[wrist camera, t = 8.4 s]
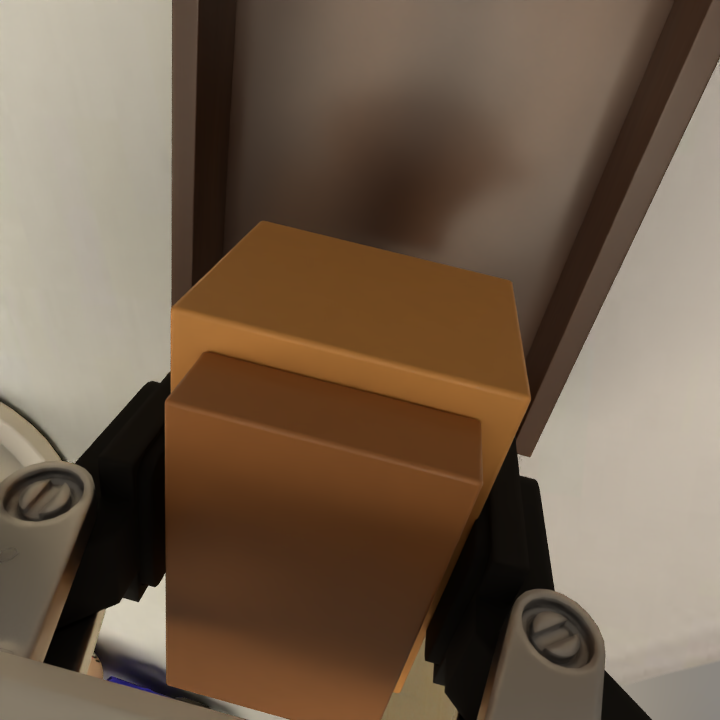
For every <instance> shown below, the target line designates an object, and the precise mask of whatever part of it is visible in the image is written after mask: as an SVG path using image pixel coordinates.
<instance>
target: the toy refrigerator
mask: <svg viewBox="0 0 720 720" xmlns="http://www.w3.org/2000/svg"><path fill="white" fill-rule="evenodd" d="M425 639H426V636H425V638H424V641H423V643H422V645H421V647H420V650H419V652H418V654H417V656H416V659H415V661H414V663H413V665H412V668H411V670H410V672H409V674H408V676H407V679H406V681H405V683H404V685H403V688H402V690H401V692H400V693H394V692H393V693H392V696H391V698H390V700H389V703H388V705H387V707H386V710H385V712H384V714H383V716H382V719H381V720H452V717H453V714H454V710H455V706H454V705H453V704H452V702H451V701H450V699H449V698H448V697H447V695H446V694H445V693H444V689H445V686H442V685H439V684H435V683H433V670H434V663H431V662H427V661H425V656H424V654H425Z"/></svg>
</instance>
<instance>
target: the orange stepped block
mask: <svg viewBox="0 0 720 720" xmlns="http://www.w3.org/2000/svg"><path fill="white" fill-rule="evenodd" d="M530 401H531V395H530V389H529V383H528V376H527V370H526V364H525V358H524V352H523V346H522V340H521V334H520V328H519V322H518V316H517V310H516V303H515V297H514V291H513V285H512V282H511V281H509V280H506V279H502V278H497V277H493V276H489V275H485V274H481V273H477V272H473V271H469V270H465V269H460V268H456V267H452V266H448V265H444V264H440V263H436V262H432V261H428V260H423V259H419V258H415V257H411V256H407V255H403V254H399V253H395V252H391V251H386V250H382V249H378V248H374V247H370V246H366V245H362V244H358V243H354V242H349V241H345V240H341V239H337V238H333V237H329V236H325V235H321V234H317V233H312V232H308V231H304V230H300V229H296V228H292V227H288V226H284V225H280V224H275V223H271V222H267V221H260V222H259V223H258V224H257V225H256V226H255V227H254V228H253V229H252V230H251V231H250V232H249V233H248V234H247V235H246V236H245V237H244V238H243V239H242V240H241V241H240V242H239V243H238V244H237V245H236V246H235V247H233V248H232V249H231V250H230V251H229V252H228V253H227V254H226V255H225V256H224V257H223V258H222V259H221V260H220V261H219V262H218V263H217V264H216V265H215V266H214V267H213V268H212V269H211V270H210V271H209V272H208V273H207V274H205V275H204V276H203V277H202V278H201V279H200V280H199V281H198V282H197V283H196V284H195V285H194V286H193V287H192V288H191V289H190V290H189V291H188V292H187V293H186V294H185V295H184V296H183V297H182V298H181V299H180V300H179V301H177V302H176V303H175V304H174V305H173V307H172V309H171V394H170V395H169V396H168V397H167V399H166V401H165V546H166V684H167V685H169V686H172V687H176V688H179V689H183V690H186V691H190V692H193V693H197V694H201V695H204V696H208V697H211V698H215V699H218V700H222V701H226V702H229V703H233V704H236V705H240V706H243V707H247V708H251V709H254V710H258V711H261V712H265V713H268V714H272V715H275V716H279V717H283V718H286V719H290V720H381V719H382V716H383V714H384V712H385V710H386V707H387V705H388V703H389V700H390V698H391V696H392V693H393V692H394V693H400V692H401V690H402V688H403V685H404V683H405V681H406V679H407V676H408V674H409V672H410V670H411V668H412V665H413V663H414V661H415V659H416V656H417V654H418V652H419V650H420V647H421V645H422V643H423V641H424V638H425V636H426V630H427V628H428V626H429V623H430V621H431V619H432V617H433V614H434V612H435V610H436V607H437V605H438V603H439V601H440V598H441V596H442V594H443V592H444V589H445V587H446V585H447V583H448V580H449V578H450V576H451V574H452V571H453V569H454V567H455V565H456V562H457V560H458V558H459V556H460V553H461V551H462V549H463V547H464V544H465V542H466V540H467V538H468V535H469V533H470V531H471V529H472V526H473V524H474V522H475V520H476V519H478V517H479V515H480V513H481V511H482V509H483V506H484V504H485V502H486V500H487V497H488V495H489V493H490V491H491V488H492V486H493V484H494V482H495V479H496V477H497V475H498V473H499V471H500V468H501V466H502V464H503V462H504V459H505V457H506V455H507V453H508V450H509V448H510V446H511V444H512V441H513V439H514V437H515V435H516V432H517V430H518V428H519V426H520V423H521V421H522V419H523V417H524V415H525V412H526V410H527V408H528V406H529V403H530Z"/></svg>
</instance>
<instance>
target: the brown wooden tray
mask: <svg viewBox="0 0 720 720" xmlns="http://www.w3.org/2000/svg"><path fill="white" fill-rule="evenodd" d="M719 58H720V0H172V304H171V309H172V307H173V305H174V304H175V303H176V302H177V301H179V300H180V299H181V298H182V297H183V296H184V295H185V294H186V293H187V292H188V291H189V290H190V289H191V288H192V287H193V286H194V285H195V284H196V283H197V282H198V281H199V280H200V279H201V278H202V277H203V276H204V275H205V274H207V273H208V272H209V271H210V270H211V269H212V268H213V267H214V266H215V265H216V264H217V263H218V262H219V261H220V260H221V259H222V258H223V257H224V256H225V255H226V254H227V253H228V252H229V251H230V250H231V249H232V248H233V247H235V246H236V245H237V244H238V243H239V242H240V241H241V240H242V239H243V238H244V237H245V236H246V235H247V234H248V233H249V232H250V231H251V230H252V229H253V228H254V227H255V226H256V225H257V224H258V223H259V222H260V221H267V222H271V223H275V224H280V225H284V226H288V227H292V228H296V229H300V230H304V231H308V232H312V233H317V234H321V235H325V236H329V237H333V238H337V239H341V240H345V241H349V242H354V243H358V244H362V245H366V246H370V247H374V248H378V249H382V250H386V251H391V252H395V253H399V254H403V255H407V256H411V257H415V258H419V259H423V260H428V261H432V262H436V263H440V264H444V265H448V266H452V267H456V268H460V269H465V270H469V271H473V272H477V273H481V274H485V275H489V276H493V277H497V278H502V279H506V280H509V281H511V282H512V285H513V291H514V297H515V303H516V310H517V316H518V322H519V328H520V334H521V340H522V346H523V352H524V358H525V364H526V370H527V376H528V383H529V389H530V395H531V401H530V403H529V406H528V408H527V410H526V412H525V415H524V417H523V419H522V421H521V423H520V426H519V428H518V430H517V432H516V435H515V439H516V448H517V454H519V455H523V456H527V457H531V455H532V452H533V450H534V448H535V446H536V444H537V442H538V440H539V438H540V436H541V434H542V431H543V429H544V427H545V425H546V423H547V421H548V419H549V417H550V415H551V412H552V410H553V408H554V406H555V404H556V402H557V400H558V398H559V396H560V393H561V391H562V389H563V387H564V385H565V383H566V381H567V379H568V377H569V374H570V372H571V370H572V368H573V366H574V364H575V362H576V360H577V358H578V356H579V353H580V351H581V349H582V347H583V345H584V343H585V341H586V339H587V337H588V334H589V332H590V330H591V328H592V326H593V324H594V322H595V320H596V318H597V315H598V313H599V311H600V309H601V307H602V305H603V303H604V301H605V299H606V296H607V294H608V292H609V290H610V288H611V286H612V284H613V282H614V280H615V277H616V275H617V273H618V271H619V269H620V267H621V265H622V263H623V261H624V259H625V256H626V254H627V252H628V250H629V248H630V246H631V244H632V242H633V240H634V237H635V235H636V233H637V231H638V229H639V227H640V225H641V223H642V221H643V218H644V216H645V214H646V212H647V210H648V208H649V206H650V204H651V202H652V199H653V197H654V195H655V193H656V191H657V189H658V187H659V185H660V183H661V180H662V178H663V176H664V174H665V172H666V170H667V168H668V166H669V164H670V162H671V159H672V157H673V155H674V153H675V151H676V149H677V147H678V145H679V143H680V140H681V138H682V136H683V134H684V132H685V130H686V128H687V126H688V124H689V121H690V119H691V117H692V115H693V113H694V111H695V109H696V107H697V105H698V102H699V100H700V98H701V96H702V94H703V92H704V90H705V88H706V86H707V83H708V81H709V79H710V77H711V75H712V73H713V71H714V69H715V67H716V65H717V62H718V60H719Z"/></svg>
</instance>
